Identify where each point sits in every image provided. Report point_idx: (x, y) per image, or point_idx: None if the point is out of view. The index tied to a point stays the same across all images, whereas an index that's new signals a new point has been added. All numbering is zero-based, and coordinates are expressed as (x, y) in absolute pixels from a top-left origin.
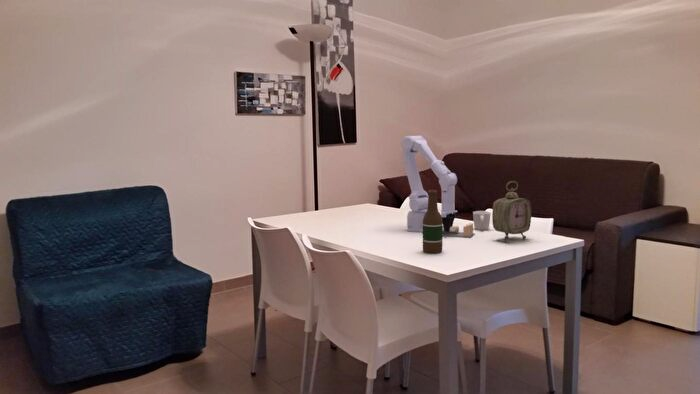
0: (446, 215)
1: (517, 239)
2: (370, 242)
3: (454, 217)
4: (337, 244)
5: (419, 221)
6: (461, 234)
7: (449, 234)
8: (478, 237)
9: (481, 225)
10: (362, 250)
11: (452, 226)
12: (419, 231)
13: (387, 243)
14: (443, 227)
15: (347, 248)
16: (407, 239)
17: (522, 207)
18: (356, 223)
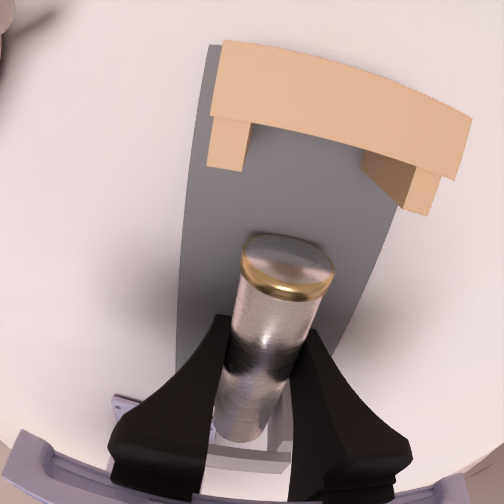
0: (389, 500)
1: None
2: (420, 472)
3: (195, 419)
4: None
5: (201, 487)
6: (316, 195)
7: (324, 306)
8: (374, 11)
9: (13, 14)
10: (496, 446)
11: (278, 340)
12: (214, 437)
13: (449, 448)
14: (278, 392)
15: (465, 468)
16: None
17: None
18: None
